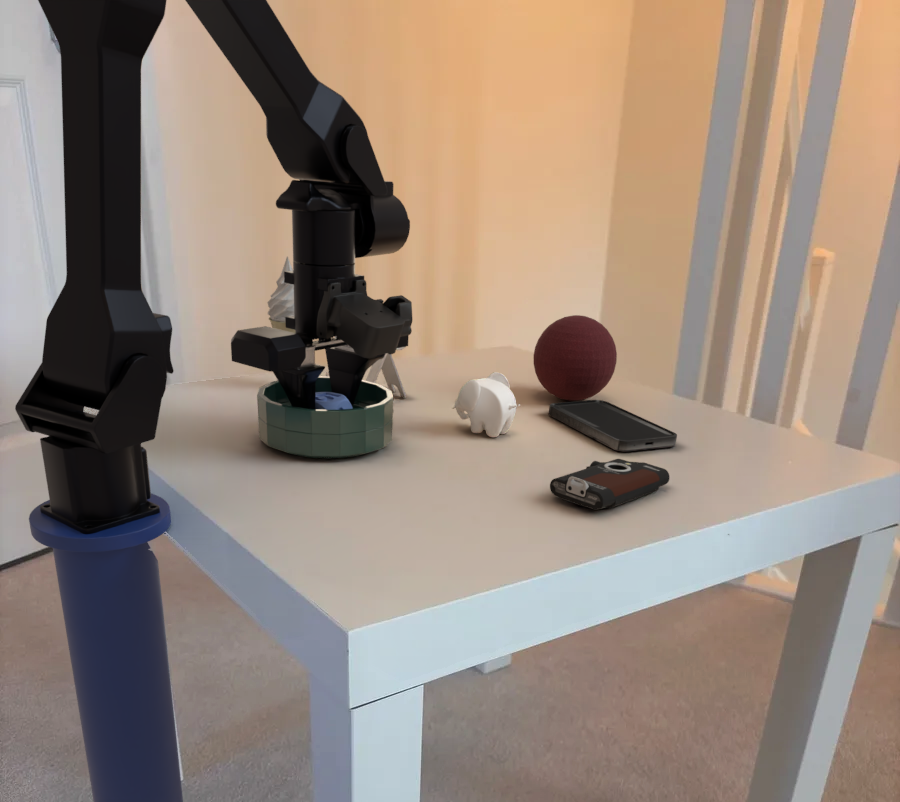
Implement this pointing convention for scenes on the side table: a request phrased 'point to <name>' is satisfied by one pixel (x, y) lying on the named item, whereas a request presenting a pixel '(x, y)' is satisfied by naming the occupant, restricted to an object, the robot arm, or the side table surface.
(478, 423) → the elephant figurine
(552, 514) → the side table surface
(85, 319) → the robot arm
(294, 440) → the bowl
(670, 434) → the phone
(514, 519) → the side table surface
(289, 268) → the ice cream cone
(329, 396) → the decorative dice
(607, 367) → the decorative ball
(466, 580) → the side table surface
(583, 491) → the camera
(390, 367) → the tablet stand
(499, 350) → the side table surface
